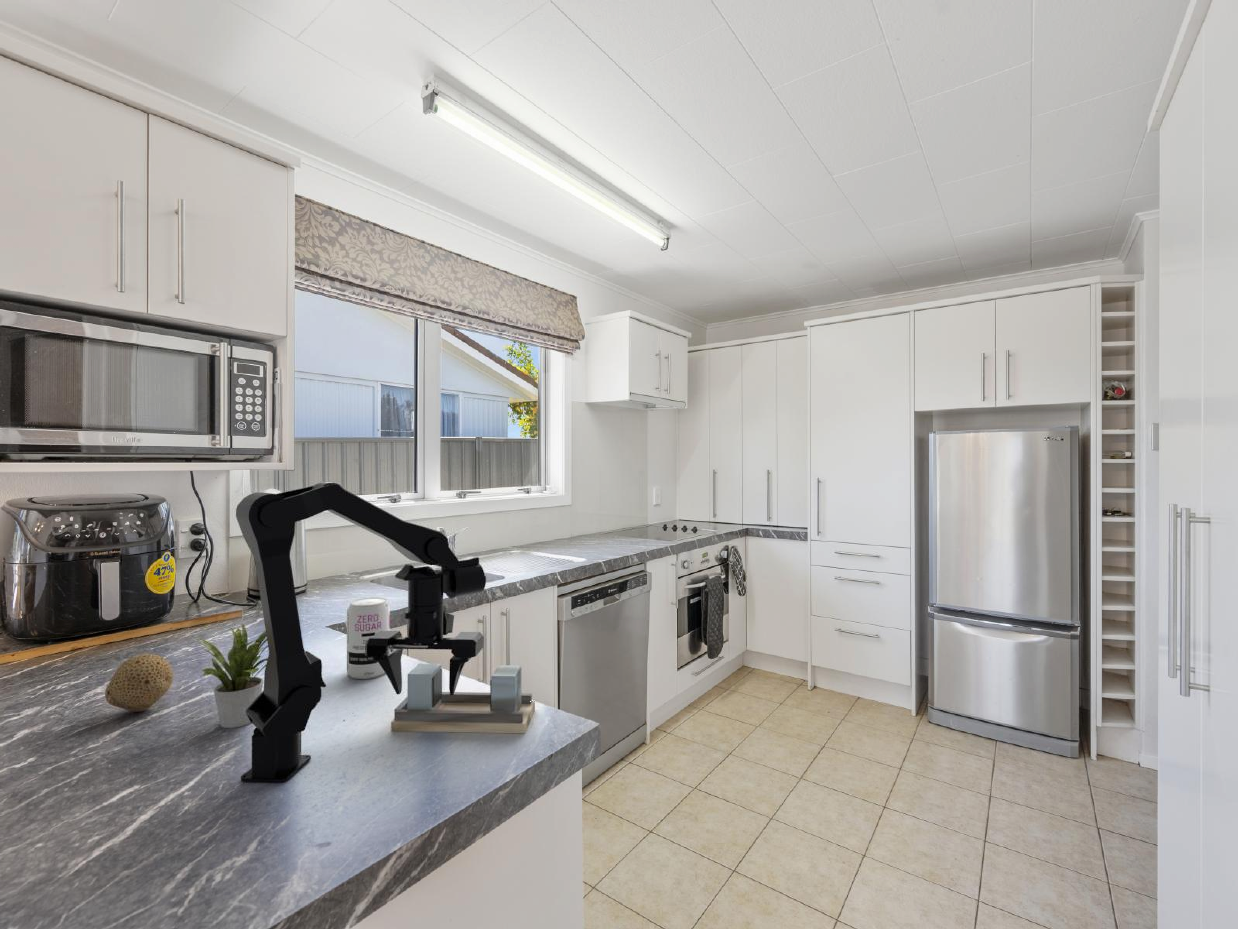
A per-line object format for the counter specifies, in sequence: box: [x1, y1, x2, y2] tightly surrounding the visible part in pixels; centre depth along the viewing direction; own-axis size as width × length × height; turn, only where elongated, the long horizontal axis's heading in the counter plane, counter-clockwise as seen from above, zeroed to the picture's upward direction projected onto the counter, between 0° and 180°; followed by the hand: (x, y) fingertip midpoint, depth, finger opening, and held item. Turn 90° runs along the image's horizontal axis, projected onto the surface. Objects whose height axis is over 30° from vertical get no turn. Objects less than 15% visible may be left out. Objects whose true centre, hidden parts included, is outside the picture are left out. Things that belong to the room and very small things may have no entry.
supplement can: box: [346, 597, 391, 680], centre depth 120 cm, size 8×8×15 cm
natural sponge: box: [104, 653, 174, 713], centre depth 101 cm, size 9×9×10 cm
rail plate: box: [390, 664, 536, 734], centre depth 98 cm, size 9×22×8 cm, turn 88°
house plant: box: [194, 623, 268, 729], centre depth 97 cm, size 14×14×16 cm
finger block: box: [406, 663, 443, 710], centre depth 98 cm, size 5×4×7 cm
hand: (425, 694), depth 98 cm, fingers open, 9 cm apart
